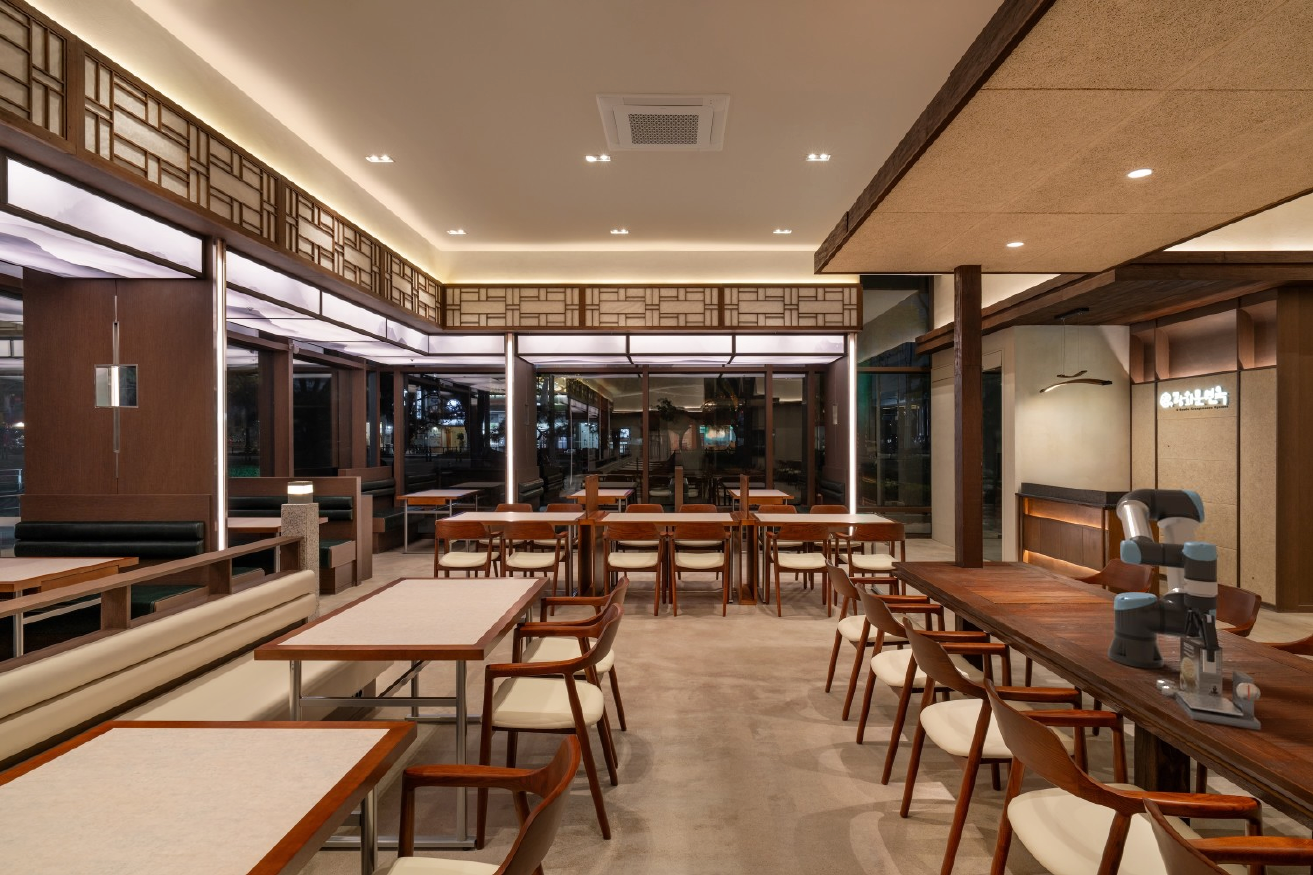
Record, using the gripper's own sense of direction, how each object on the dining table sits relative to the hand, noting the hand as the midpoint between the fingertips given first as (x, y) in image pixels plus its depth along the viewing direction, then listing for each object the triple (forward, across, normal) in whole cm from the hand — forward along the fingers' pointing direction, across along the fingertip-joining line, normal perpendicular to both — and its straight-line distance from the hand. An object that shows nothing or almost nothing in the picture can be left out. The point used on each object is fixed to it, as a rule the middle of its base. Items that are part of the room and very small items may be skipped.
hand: (1200, 665), depth 182 cm
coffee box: (+9, -1, 0) cm, 9 cm away
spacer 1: (+9, -2, -8) cm, 12 cm away
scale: (+9, +14, -1) cm, 17 cm away
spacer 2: (+9, +3, -8) cm, 13 cm away
